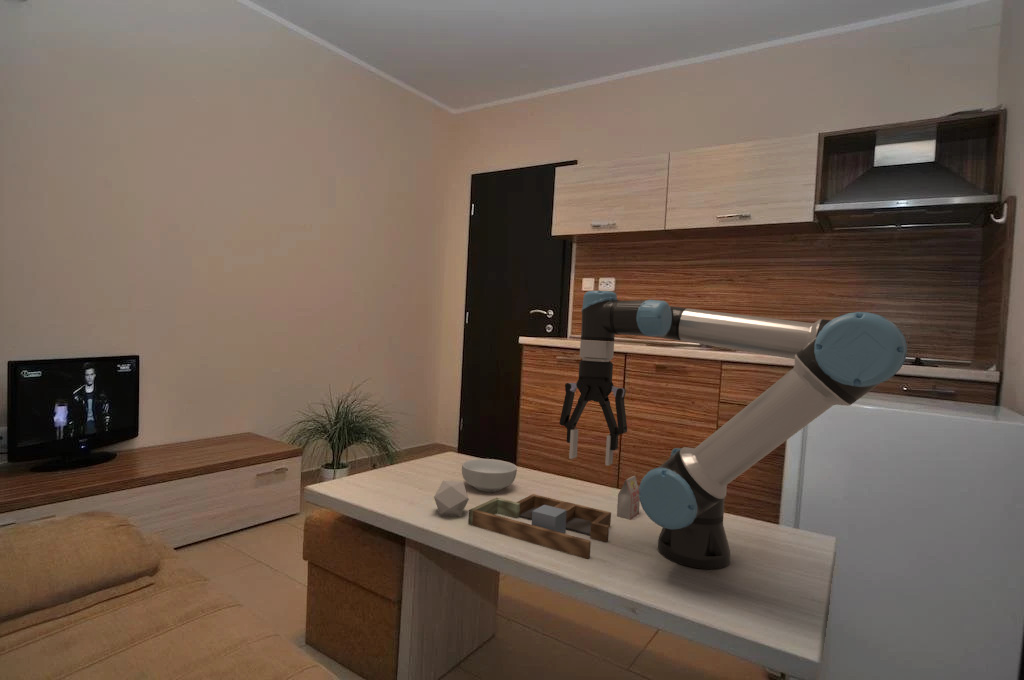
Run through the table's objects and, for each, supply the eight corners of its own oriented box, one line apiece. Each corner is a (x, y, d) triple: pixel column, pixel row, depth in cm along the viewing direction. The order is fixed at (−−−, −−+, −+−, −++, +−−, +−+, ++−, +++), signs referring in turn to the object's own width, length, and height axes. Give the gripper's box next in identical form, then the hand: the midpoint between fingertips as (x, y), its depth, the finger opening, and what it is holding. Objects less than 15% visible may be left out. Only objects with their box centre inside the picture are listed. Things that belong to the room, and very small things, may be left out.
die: (452, 525, 123) (476, 490, 126) (423, 503, 125) (448, 469, 128) (455, 525, 131) (477, 492, 134) (427, 505, 133) (450, 473, 136)
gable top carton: (616, 516, 135) (618, 479, 135) (626, 510, 140) (628, 474, 140) (630, 519, 133) (632, 481, 133) (639, 513, 138) (641, 476, 138)
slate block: (565, 535, 120) (566, 510, 120) (554, 543, 115) (555, 516, 115) (542, 529, 123) (544, 504, 123) (530, 536, 118) (532, 511, 118)
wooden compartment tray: (621, 528, 125) (621, 514, 125) (587, 559, 107) (588, 542, 107) (513, 502, 141) (514, 489, 141) (468, 524, 123) (468, 509, 123)
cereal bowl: (495, 500, 142) (497, 475, 142) (449, 488, 151) (450, 465, 151) (525, 487, 157) (527, 464, 157) (481, 477, 165) (483, 455, 165)
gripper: (646, 363, 112) (641, 465, 112) (561, 357, 122) (556, 450, 122) (636, 363, 105) (630, 472, 105) (547, 357, 116) (542, 456, 116)
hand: (590, 460), depth 114 cm, fingers open, 8 cm apart
